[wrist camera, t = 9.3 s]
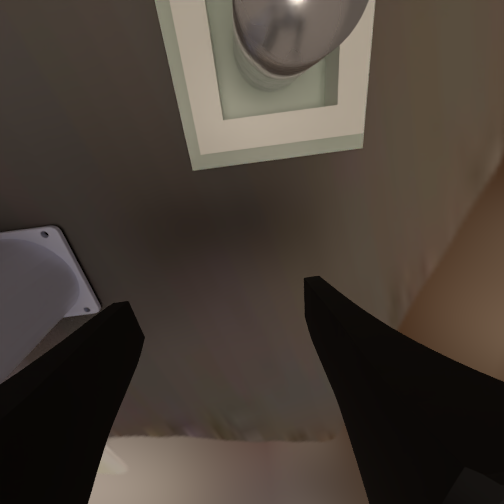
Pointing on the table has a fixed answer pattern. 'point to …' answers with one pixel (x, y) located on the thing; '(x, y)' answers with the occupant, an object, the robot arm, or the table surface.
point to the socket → (260, 92)
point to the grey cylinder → (288, 36)
